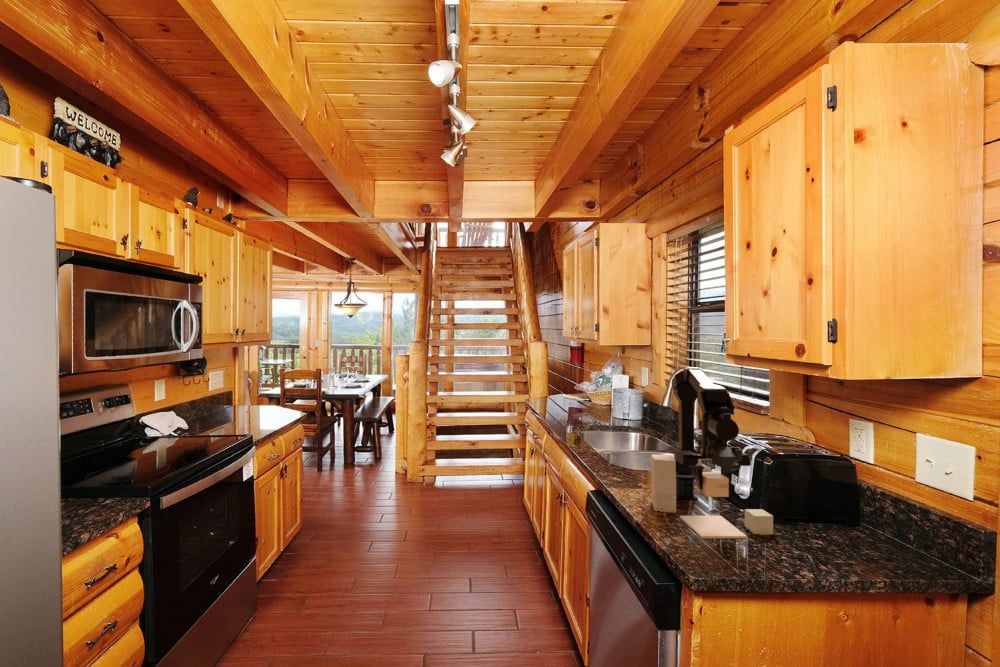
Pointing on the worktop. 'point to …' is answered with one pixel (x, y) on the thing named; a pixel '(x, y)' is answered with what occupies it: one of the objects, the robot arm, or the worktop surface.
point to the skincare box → (663, 483)
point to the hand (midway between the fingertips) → (712, 489)
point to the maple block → (714, 485)
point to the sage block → (758, 521)
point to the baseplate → (712, 527)
